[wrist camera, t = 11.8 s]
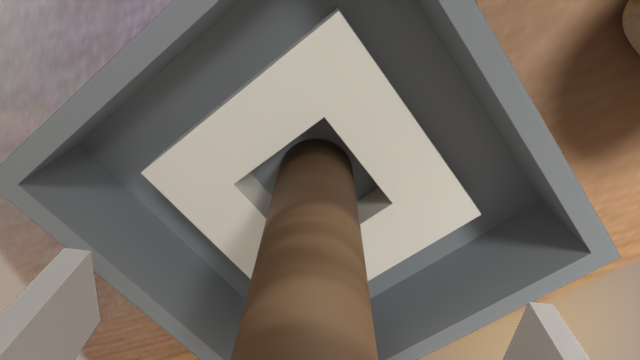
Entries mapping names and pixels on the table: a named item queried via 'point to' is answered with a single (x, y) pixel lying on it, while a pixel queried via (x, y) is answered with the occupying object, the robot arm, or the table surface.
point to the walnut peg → (309, 266)
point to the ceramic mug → (632, 23)
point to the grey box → (298, 125)
